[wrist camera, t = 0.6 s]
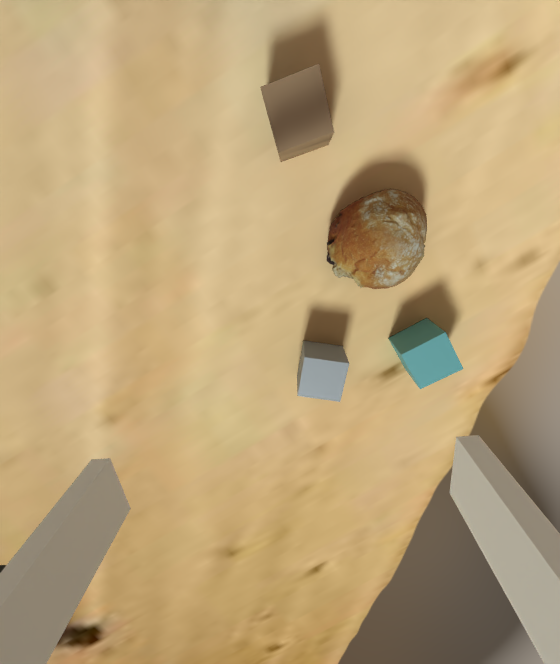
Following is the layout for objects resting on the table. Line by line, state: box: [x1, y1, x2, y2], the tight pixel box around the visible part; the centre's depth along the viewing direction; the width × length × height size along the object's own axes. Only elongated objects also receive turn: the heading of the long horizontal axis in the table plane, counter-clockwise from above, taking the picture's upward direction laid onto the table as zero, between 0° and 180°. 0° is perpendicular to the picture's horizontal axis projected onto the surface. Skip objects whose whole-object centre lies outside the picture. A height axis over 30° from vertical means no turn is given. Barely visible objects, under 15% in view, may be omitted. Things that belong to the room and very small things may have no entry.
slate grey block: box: [297, 341, 349, 402], centre depth 37 cm, size 5×5×5 cm
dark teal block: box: [388, 318, 463, 389], centre depth 36 cm, size 5×5×5 cm
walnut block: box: [261, 64, 334, 162], centre depth 28 cm, size 5×5×5 cm
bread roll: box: [327, 189, 427, 289], centre depth 32 cm, size 10×10×8 cm
